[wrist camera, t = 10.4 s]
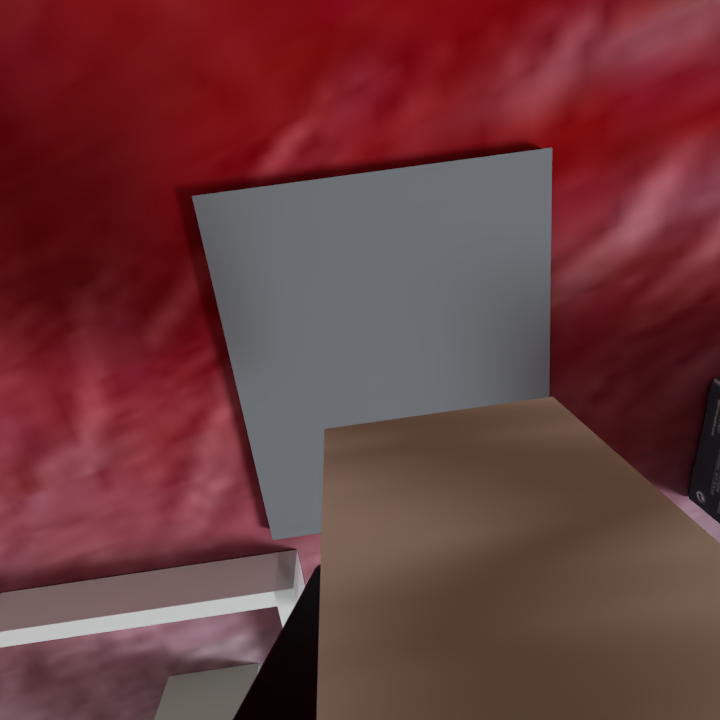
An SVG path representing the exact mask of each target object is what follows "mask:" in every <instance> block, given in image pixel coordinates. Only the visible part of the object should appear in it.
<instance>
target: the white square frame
mask: <svg viewBox="0 0 720 720" xmlns="http://www.w3.org/2000/svg"><path fill="white" fill-rule="evenodd" d="M304 588H305V584H304V580H303V575H302V570H301V566H300V561H299V557H298V552H297V550H291V551H284V552H277V553H271V554H264V555H257V556H250V557H243V558H236V559H230V560H223V561H216V562H209V563H202V564H196V565H189V566H182V567H175V568H168V569H162V570H155V571H148V572H141V573H134V574H127V575H121V576H114V577H107V578H100V579H93V580H87V581H80V582H73V583H66V584H59V585H53V586H46V587H39V588H32V589H25V590H18V591H12V592H5V593H0V647H7V646H14V645H21V644H27V643H34V642H41V641H47V640H54V639H61V638H68V637H74V636H81V635H88V634H95V633H101V632H108V631H115V630H122V629H128V628H135V627H142V626H148V625H155V624H162V623H169V622H175V621H182V620H189V619H196V618H202V617H209V616H216V615H222V614H229V613H236V612H243V611H249V610H256V609H263V608H270V607H276V606H277V607H278V611H279V615H280V619H281V623H282V627H284V625H285V623H286V621H287V619H288V617H289V616H290V614H291V612H292V610H293V608H294V606H295V605H296V603H297V601H298V599H299V597H300V595H301V594H302V592H303V590H304Z"/></svg>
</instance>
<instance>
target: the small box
mask: <svg viewBox="0 0 720 720" xmlns="http://www.w3.org/2000/svg"><path fill="white" fill-rule="evenodd" d="M689 499H690V500H692V501H693V502H694V503H696V504H697V505H698V506H699V507H700V508H702V509H703V510H704V511H705V512H706V513H708V514H709V515H710V516H711V517H712V518H714V519H715V520H716V521H717V522H719V523H720V377H717V378H715V379H714V380H713V382H712V383H711V387H710V391H709V398H708V404H707V410H706V412H705V419H704V425H703V429H702V433H701V438H700V443H699V447H698V451H697V456H696V462H695V465H694V467H693V473H692V479H691V484H690V491H689Z"/></svg>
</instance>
